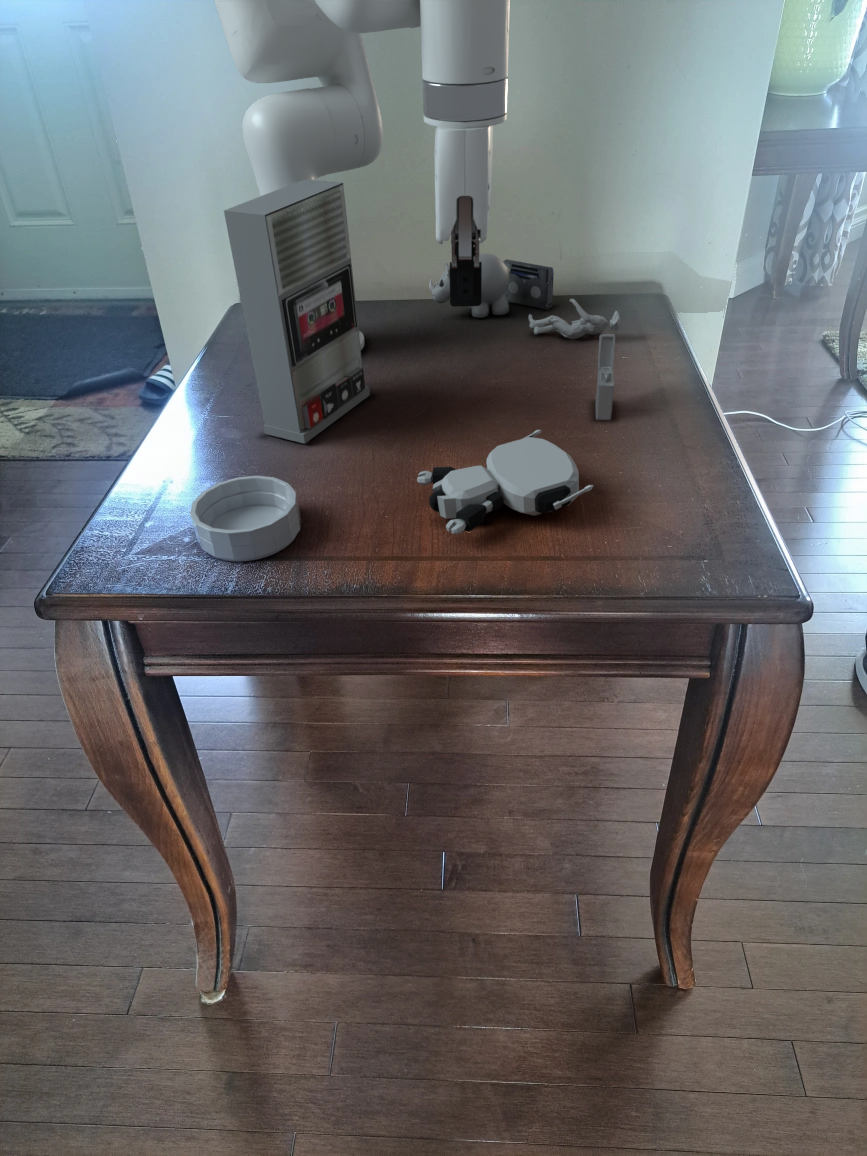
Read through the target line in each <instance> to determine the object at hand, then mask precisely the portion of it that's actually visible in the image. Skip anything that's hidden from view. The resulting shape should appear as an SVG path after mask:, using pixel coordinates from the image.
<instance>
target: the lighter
mask: <svg viewBox="0 0 867 1156" xmlns="http://www.w3.org/2000/svg"><path fill="white" fill-rule="evenodd" d="M598 339H599V341H598V355H597V357H598V358H597V370H598V371H597V380H596V392H595V405H594V406H595V419H596V420H597V421H599V420H600V421H602V420H603V421H610V420H612V412H613V403H614V402H613V400H614V392H615V391H614V390H615V380H614V379H615V378H614V360H615V345H616V334H615V333H600V334H599V338H598Z"/></svg>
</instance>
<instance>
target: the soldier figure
mask: <svg viewBox="0 0 867 1156" xmlns="http://www.w3.org/2000/svg"><path fill="white" fill-rule="evenodd" d="M569 302H570V303H572V305H573V306H574V307H575V310H576V311H577V313H578V315H579V317H580V318H579V319H575V320H572V321H571V324H569V323H568V322H567V321H566V320H564V319H563V318H561V317H560V316H557V315H553V314H552V315H550V316H547V317H545V318H542V319H537V320H536V319H533V315H532V314H531V313H529V314H528V316H527V317H528V321H529V329H533V334H534V335H535V336H536V335H539V334H541V333H542V334H543V333H552V332H555V331H556V332H557V333H559V335H562V336H563V337H564V338H566V339H569V340H576V339H579V338H581V337H583V336H584V335H586V334H590V335H591V336H596V335H601V334H603V332H604V331H605V329H606V328H607V327H609V328H610V330H614V331H615V333H618V331H619V329H620V327H621V317H620V314H619V312H618V310H615V312H614V314H613V315H612V314H610V315H609V316H607V319H606V318H605V317H604V316H602V315H598V314H593V315H591V314H589V313H587V312H586V311H585V310H584V309H583V308H582V307H581V305H580V304H579V302H577V300H576V299H574V298H570V299H569ZM609 317H611V318H610V319H609Z"/></svg>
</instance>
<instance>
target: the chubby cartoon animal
mask: <svg viewBox="0 0 867 1156" xmlns="http://www.w3.org/2000/svg"><path fill="white" fill-rule="evenodd" d="M479 261H482V287H481V305H480V306H467V308H468V309H469V310H471V316H472V317H473V318H477V319H482V318H483V319H484V318H486V317H488V316H489V314H490V309H491V313H492V314H493V315H494V316H505V315H506V314H508V313H509V312H510V305H509V304H510V303H509V302H508V301H507V299H506V296H505V292H506V290H507V288H508V284H509V273H510V271H509V269H508V267H507V266H506V265H505V264H504V262H503V261H504V260H502V259H501V258H500V257H499V256H497V255H494V254H492V253H488V252H487V253H484V252H483V253H479ZM444 267H445V269H444V271H443V272H442V273H441V274H440V276H439V281H438V282H437V281H435V284H434V283H433V279H432V278H430V280H429V283H428V288H429V290H430V292H431V298H432V300H433V301H434V302H435V303H437V304H445V303H446V302H448V301H450V264H448V263H447V262H444Z"/></svg>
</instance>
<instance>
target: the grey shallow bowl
mask: <svg viewBox="0 0 867 1156" xmlns="http://www.w3.org/2000/svg"><path fill="white" fill-rule="evenodd" d="M298 501H299V500H298V495H297V492H296V490H295V489H294V488H293V487H292V486H291V485H290V483H289V482H286V481H285V480H282V479H280V478H278V477H275V476H265V475H247V476H238V477H233V478H231V479H227V480H224V481H220V482H217V483H216V484H214V485H212V486H210V487H208V488H207V489H205V490H203V491H202V492H201V493H200V494H199V495H198V496H197V497H196V498H195V499H194V500H193V501H192V503H191V507H190V512H189V515H190V519H191V523H192V526H193V531H194V533H195V538H196V540H197V542H198V545H199V546H200V548H201V549H202V551H204V552H206V553H207V554H208V555H210V556H212V557H213V558H216V559H219V560H222V561H227V562H249V561H255V560H261V559H263V558H264V559H265V558H267V557H270V556H272V555H274V554H277V553H279V552H280V551H282V550H284V549H285V548H286V547H288V546H289V545H290V544H291V543H292V542H293V541H294V540H295V539H296V537H297V535H298V533H299V532H300V531H301V519H302V518H301V513H300V508H299V507H300V506H299V502H298Z"/></svg>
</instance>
